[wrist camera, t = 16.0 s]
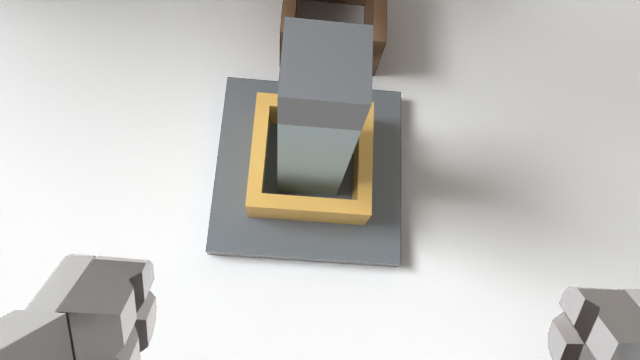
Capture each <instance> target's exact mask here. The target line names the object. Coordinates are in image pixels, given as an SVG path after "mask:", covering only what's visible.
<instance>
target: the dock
mask: <svg viewBox="0 0 640 360" xmlns="http://www.w3.org/2000/svg"><path fill="white" fill-rule="evenodd" d="M278 85H279V81H267V80H256V79H244V78H233V77H228V78H227V86H226V94H225V102H224V110H223V118H222V126H221V134H220V142H219V149H218V157H217V165H216V173H215V181H214V189H213V197H212V205H211V213H210V221H209V229H208V237H207V245H206V252H207V254H213V255H228V256H243V257H258V258H273V259H289V260H304V261H319V262H334V263H349V264H364V265H379V266H394V267H397V266H398V265H400V208H401V92H394V91H382V90H372V105H371V108H370V110H369V113H368V115H367V118H366V120H365V123H364V126H363V128H362V131H361V133H360V136H359V138H358V141H357V143H356V146H355V149H354V151H353V154H352V156H351V159H350V161H349V164H348V167H347V169H346V172H345V174H344V177H343V179H342V182H341V185H340V187H339V190H338V192H337V195H336V196H335V195H321V194H307V193H294V192H280V191H277V97H278Z"/></svg>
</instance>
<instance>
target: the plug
mask: <svg viewBox="0 0 640 360" xmlns="http://www.w3.org/2000/svg"><path fill="white" fill-rule="evenodd" d="M372 61H373V25H367V24H356V23H346V22H335V21H325V20H314V19H303V18H293V17H285V18H284V29H283V40H282V52H281V63H280V74H279V85H278V97H277V191H280V192H294V193H307V194H321V195H335V196H336V195H337V192H338V190H339V187H340V185H341V182H342V179H343V177H344V174H345V172H346V169H347V167H348V164H349V161H350V159H351V156H352V154H353V151H354V149H355V146H356V143H357V141H358V138H359V136H360V133H361V131H362V128H363V126H364V123H365V120H366V118H367V115H368V113H369V110H370V108H371V105H372Z"/></svg>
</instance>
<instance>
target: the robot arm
mask: <svg viewBox="0 0 640 360" xmlns="http://www.w3.org/2000/svg"><path fill="white" fill-rule="evenodd" d="M153 281H154V270H153V264H152V262H151V261H150V260H140V259H128V258H116V257H104V256H97V257H96V256H89V255H74V254H71V255H68V256H66V257H64V258H63V260H62V261H61V262H60V264H59V265H58V266H57V268H56V269H55V270H54V272H53V273H52V274H51V276H50V277H49V278H48V280H47V281H46V282H45V283H44V285H43V286H42V287H41V289H40V290H39V291H38V293H37V294H36V295H35V297H34V298H33V299H32V301H31V302H30V303H29V305H28V306H27V307H26V309H25V310H24V311H22V310H15V311H13V312H11V313H9V314H7V315H5V316H3V317H1V318H0V360H141V359H140V352H141V351H143V350H144V349H145V348H147V347H148V346H149V343H150V340H151V337H152V335H153V330H154V325H155V320H156V297H155V296H154V295H153V294H152V293H151V291H150V288H151V285H152V283H153ZM559 304H560V306H561V308H562V310H563V313H561V314H560V315H559V316H557V317H556V318H555V319H554V320H552V323H551V326H550V329H549V332H548V348H549V351H550V355H551V358H552V360H640V290H637V289H618V290H614V289H597V288H579V287H568V288H567V289H566V290H565V291H564V292H563V294H562V297H561V299H560V302H559Z"/></svg>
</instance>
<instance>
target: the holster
mask: <svg viewBox="0 0 640 360" xmlns="http://www.w3.org/2000/svg"><path fill="white" fill-rule="evenodd" d="M314 1H324V2H335V3H345V4H355V5H365V9H364V24H367V25H373V61H372V76H374V75H375V72H376V69H377V67H378V64H379V61H380V58H381V55H382V53H383V50H384V47H385V44H386V28H387V0H314ZM296 8H297V0H283V5H282V16H281V26H280V63H281V52H282V40H283V29H284V18H285V17H293V18H296Z"/></svg>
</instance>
